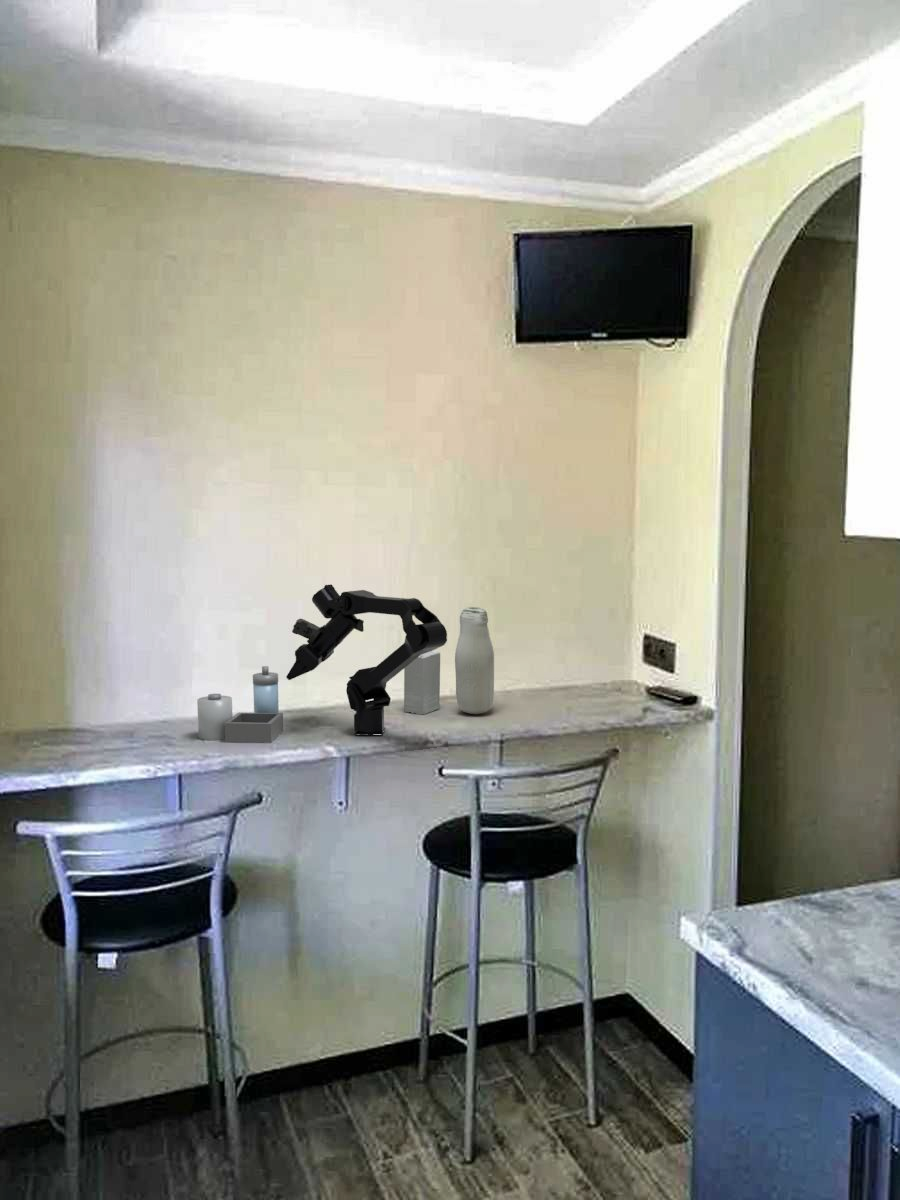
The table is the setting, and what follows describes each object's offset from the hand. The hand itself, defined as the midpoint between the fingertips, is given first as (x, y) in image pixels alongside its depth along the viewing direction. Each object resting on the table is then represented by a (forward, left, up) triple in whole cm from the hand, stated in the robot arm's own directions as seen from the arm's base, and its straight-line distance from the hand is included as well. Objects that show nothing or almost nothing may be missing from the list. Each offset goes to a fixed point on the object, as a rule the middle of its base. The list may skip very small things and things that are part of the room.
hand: (292, 675), depth 235 cm
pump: (+7, 0, -13) cm, 15 cm away
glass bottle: (-44, -16, -13) cm, 49 cm away
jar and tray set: (+10, +11, -13) cm, 19 cm away
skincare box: (-30, -18, -13) cm, 38 cm away
